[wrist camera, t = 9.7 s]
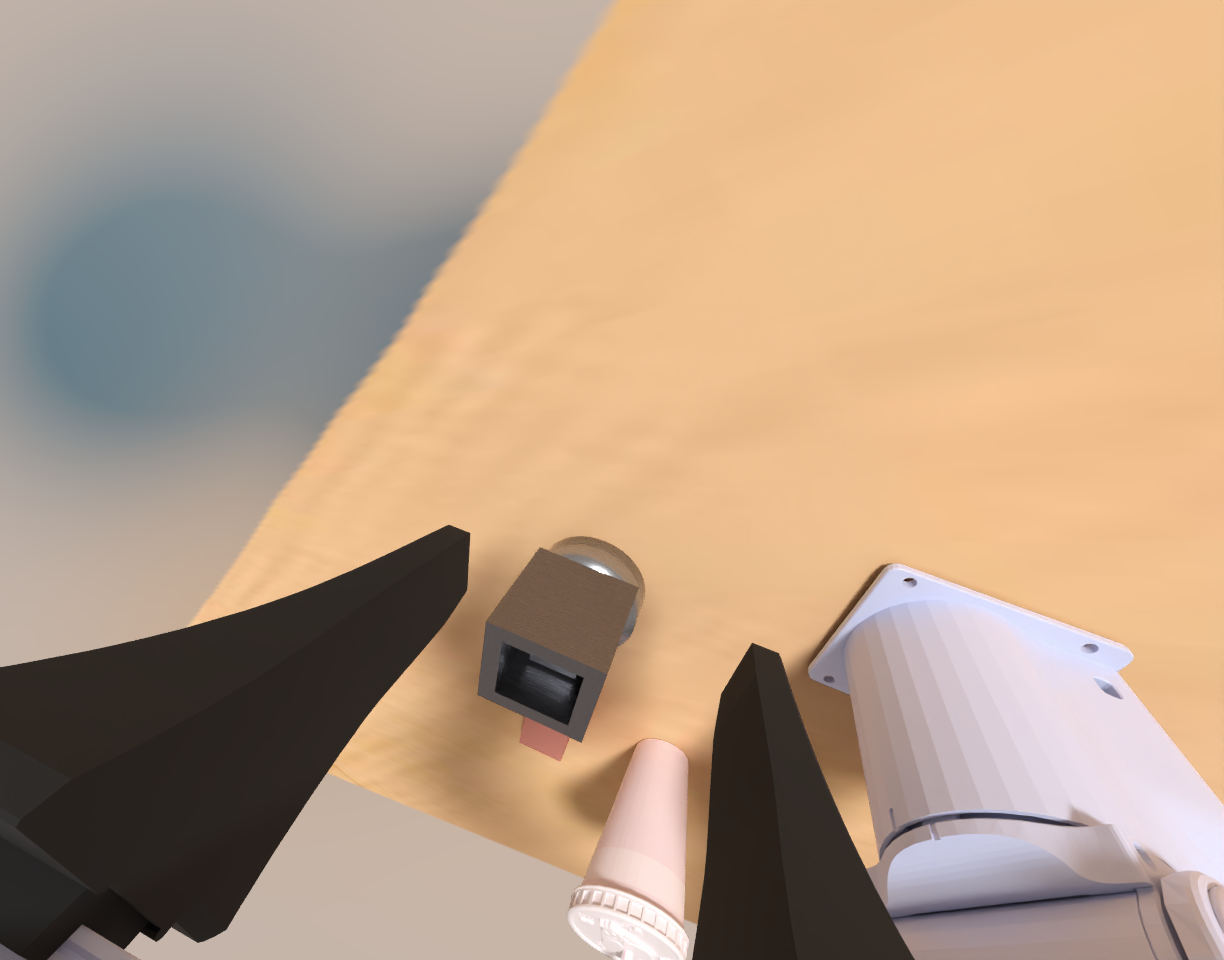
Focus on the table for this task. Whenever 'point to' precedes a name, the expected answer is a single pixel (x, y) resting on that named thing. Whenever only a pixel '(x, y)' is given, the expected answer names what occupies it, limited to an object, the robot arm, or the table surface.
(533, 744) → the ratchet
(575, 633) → the hollow square tube
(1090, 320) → the table surface
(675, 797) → the smoothie
